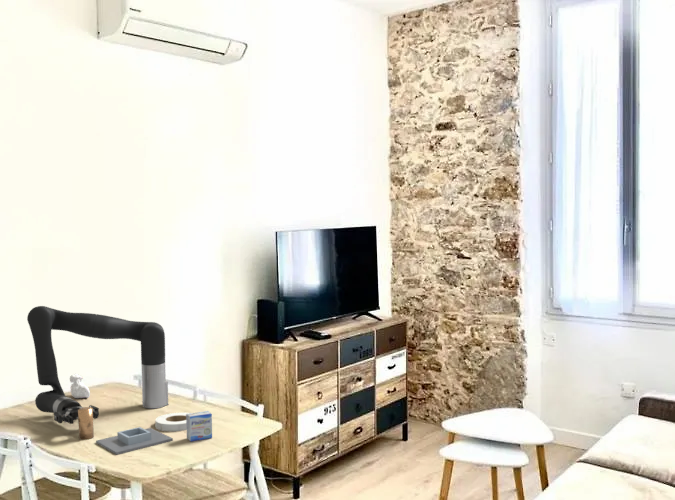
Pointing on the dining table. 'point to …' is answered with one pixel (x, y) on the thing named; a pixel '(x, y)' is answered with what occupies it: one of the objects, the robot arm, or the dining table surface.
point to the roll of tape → (171, 422)
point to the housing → (133, 440)
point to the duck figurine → (78, 387)
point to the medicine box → (199, 426)
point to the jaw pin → (85, 423)
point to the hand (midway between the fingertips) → (84, 418)
